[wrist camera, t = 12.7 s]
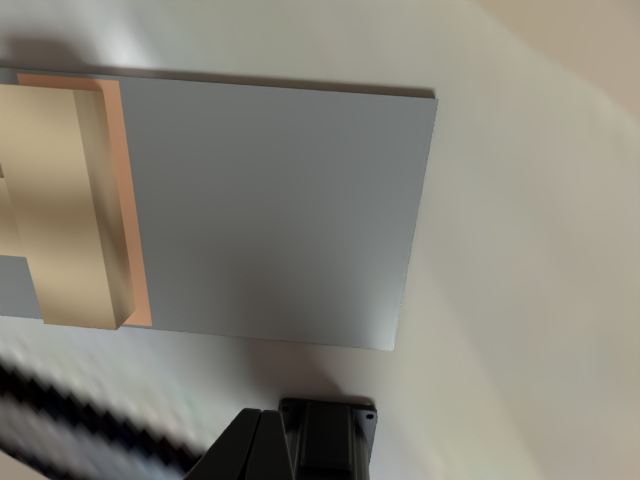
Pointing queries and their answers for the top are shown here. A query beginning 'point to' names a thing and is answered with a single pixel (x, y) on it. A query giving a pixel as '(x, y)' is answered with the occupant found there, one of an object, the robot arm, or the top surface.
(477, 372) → the top surface
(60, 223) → the oak T block
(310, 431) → the robot arm
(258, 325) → the grey flat panel
